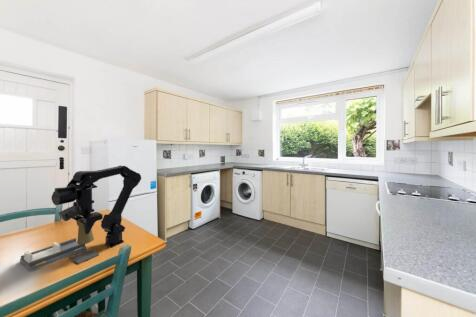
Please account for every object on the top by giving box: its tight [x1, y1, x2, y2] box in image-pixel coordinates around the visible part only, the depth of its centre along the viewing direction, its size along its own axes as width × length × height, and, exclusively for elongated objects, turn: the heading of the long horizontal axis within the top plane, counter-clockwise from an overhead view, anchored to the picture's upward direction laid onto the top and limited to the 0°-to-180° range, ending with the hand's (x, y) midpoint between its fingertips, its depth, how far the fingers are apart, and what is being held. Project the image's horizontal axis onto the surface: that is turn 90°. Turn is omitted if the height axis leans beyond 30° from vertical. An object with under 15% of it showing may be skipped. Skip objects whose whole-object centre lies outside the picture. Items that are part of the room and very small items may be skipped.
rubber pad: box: [69, 249, 100, 265], centre depth 86 cm, size 8×8×1 cm
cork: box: [76, 218, 95, 245], centre depth 86 cm, size 6×6×11 cm
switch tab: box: [23, 241, 61, 263], centre depth 83 cm, size 10×7×3 cm
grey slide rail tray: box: [19, 237, 87, 272], centre depth 86 cm, size 19×12×3 cm, turn 153°
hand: (84, 232), depth 86 cm, fingers closed on cork, 4 cm apart
